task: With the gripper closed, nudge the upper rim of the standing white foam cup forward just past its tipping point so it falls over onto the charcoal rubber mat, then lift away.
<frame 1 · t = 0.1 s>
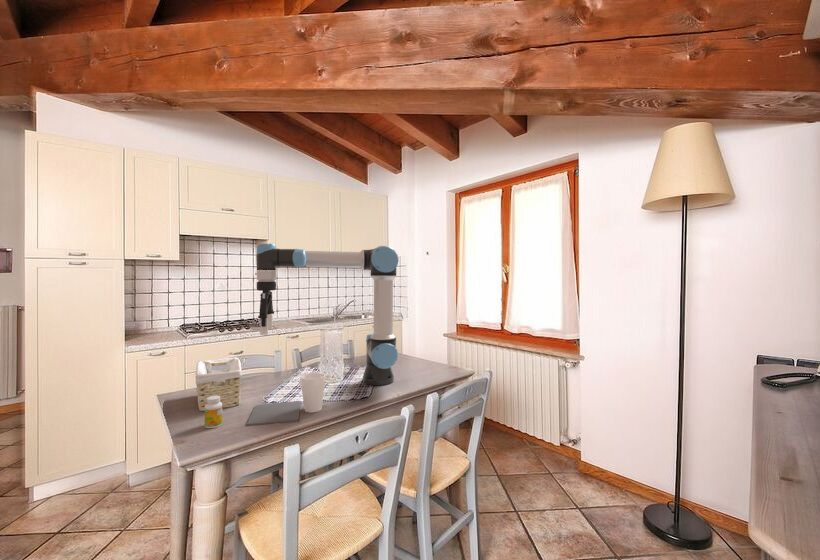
hand: (266, 331, 148), 28 cm above the table, tool pointing down, fingers open, 13 cm apart
foam cup: (313, 409, 138), on the table
supplement bottle: (213, 425, 123), on the table
storage basket: (219, 400, 147), on the table
charcoal mat: (275, 413, 133), on the table
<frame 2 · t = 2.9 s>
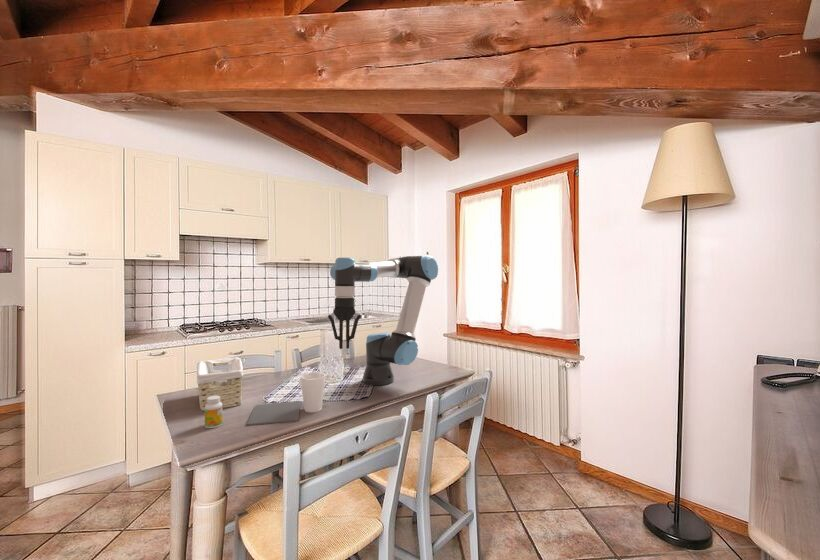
hand: (344, 356, 140), 20 cm above the table, tool pointing down, fingers closed
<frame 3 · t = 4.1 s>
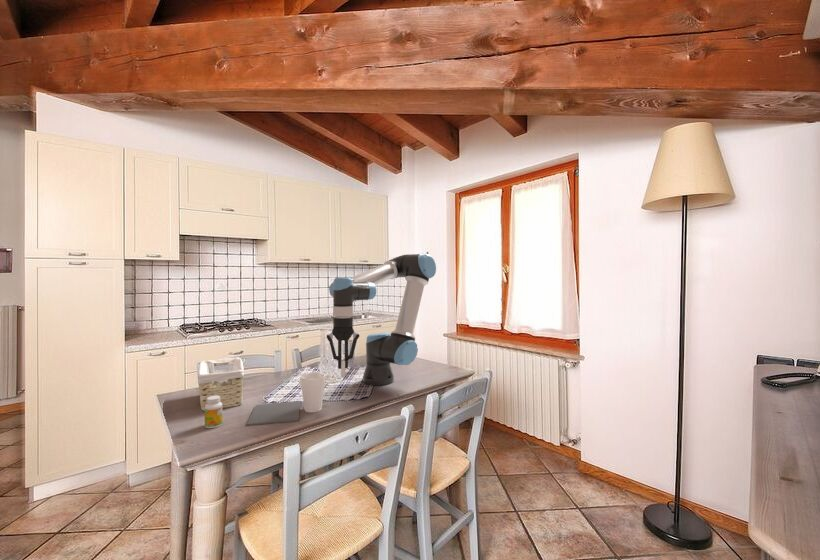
hand: (342, 376, 140), 12 cm above the table, tool pointing down, fingers closed
nothing on the table moved.
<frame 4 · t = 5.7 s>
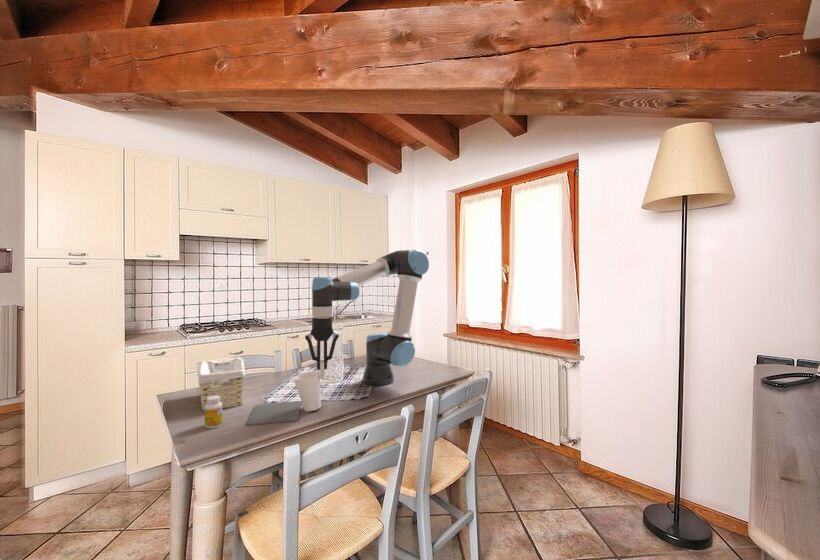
hand: (322, 377, 138), 12 cm above the table, tool pointing down, fingers closed
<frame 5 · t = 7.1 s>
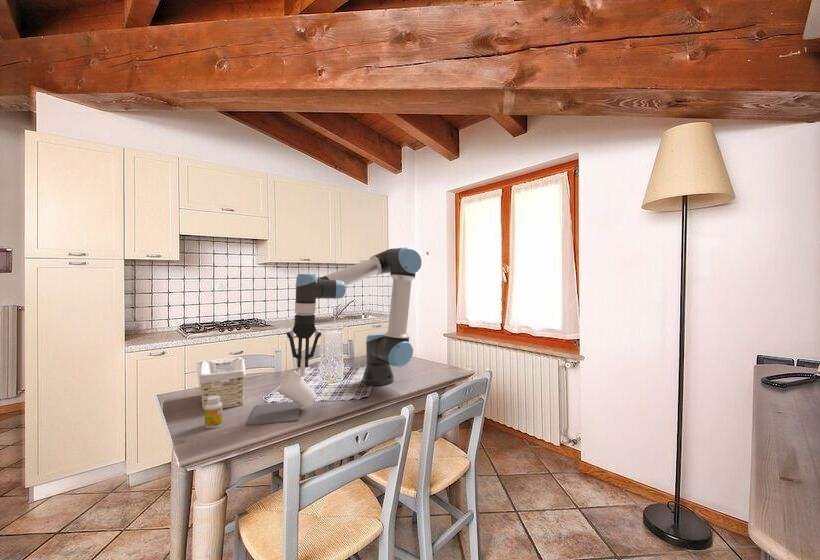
hand: (302, 375, 136), 13 cm above the table, tool pointing down, fingers closed
foam cup: (311, 402, 137), point 3 cm above the table, touching charcoal mat, gripper
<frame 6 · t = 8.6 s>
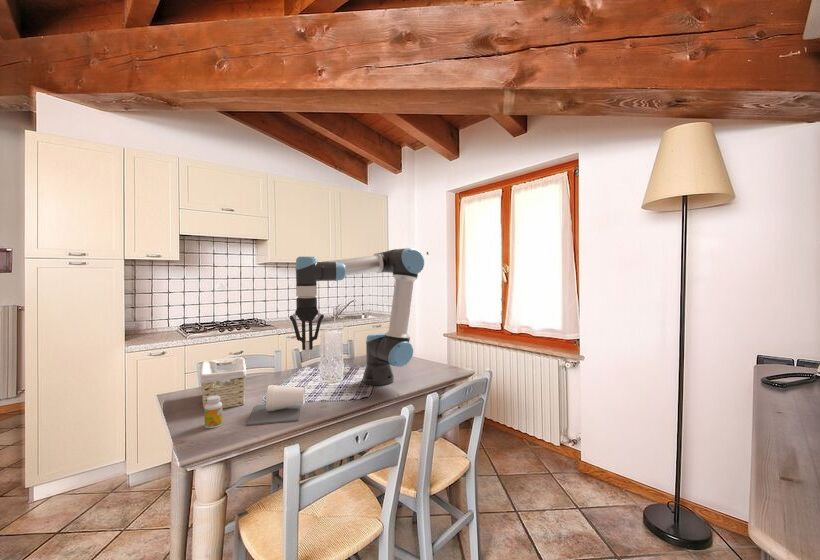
hand: (307, 358, 137), 20 cm above the table, tool pointing down, fingers closed
foam cup: (304, 396, 137), point 5 cm above the table, touching charcoal mat
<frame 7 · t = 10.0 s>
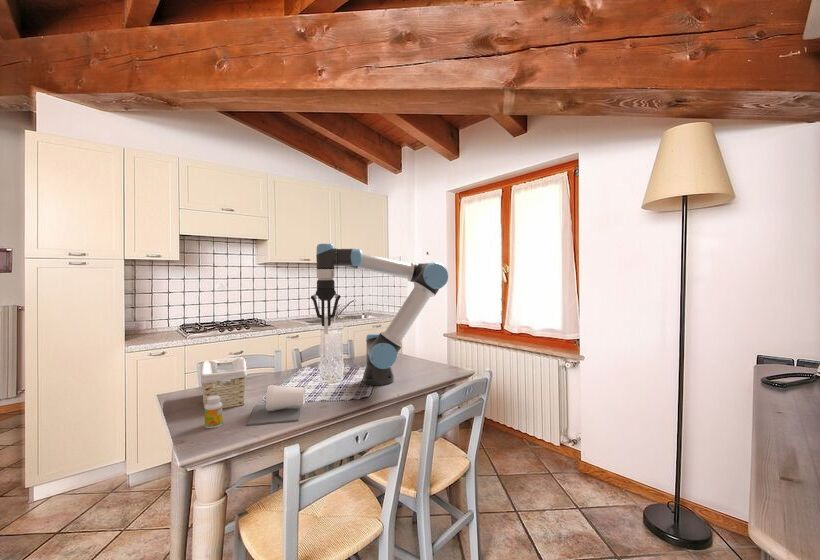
hand: (326, 333, 155), 26 cm above the table, tool pointing down, fingers closed
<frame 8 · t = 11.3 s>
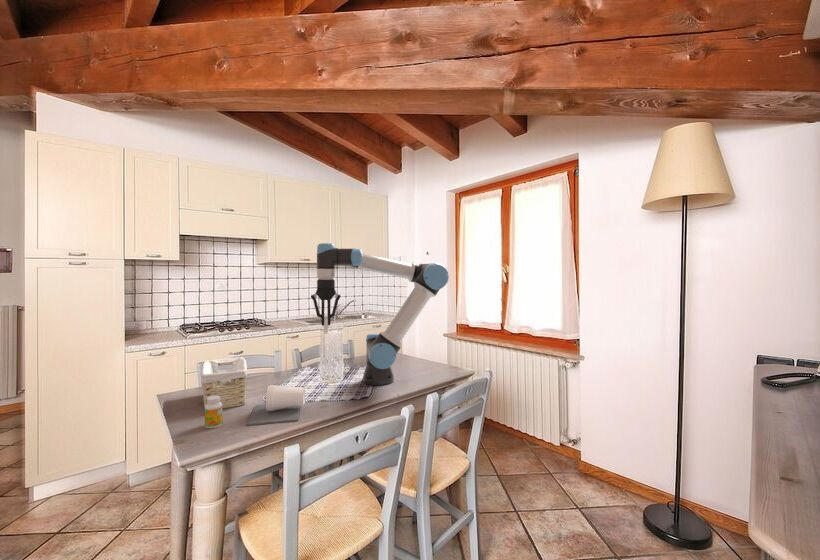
hand: (325, 332, 156), 26 cm above the table, tool pointing down, fingers closed
at the end: foam cup tilted 90°; foam cup touching charcoal mat; foam cup inside the target area (8.8 cm from its centre), point 5.2 cm above the table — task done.
